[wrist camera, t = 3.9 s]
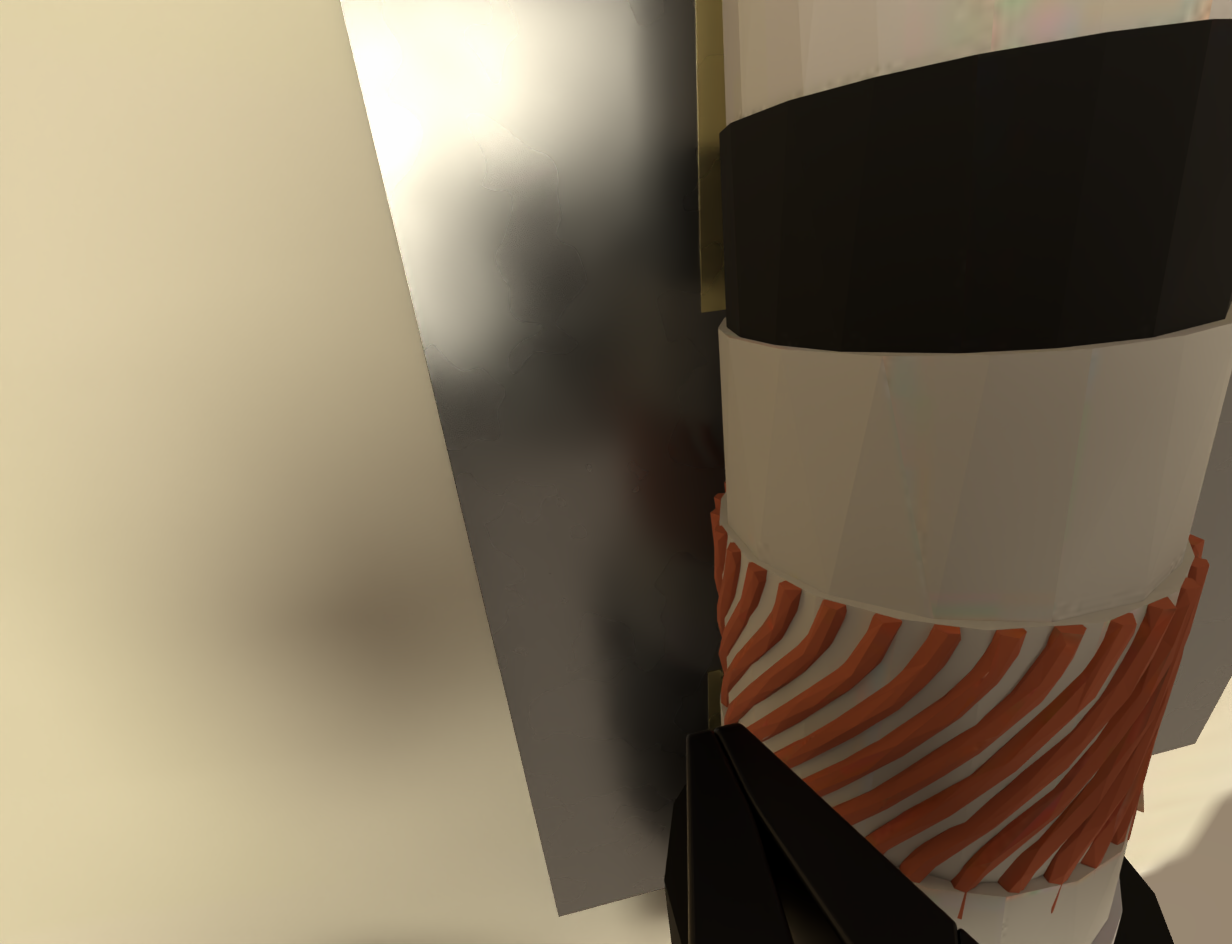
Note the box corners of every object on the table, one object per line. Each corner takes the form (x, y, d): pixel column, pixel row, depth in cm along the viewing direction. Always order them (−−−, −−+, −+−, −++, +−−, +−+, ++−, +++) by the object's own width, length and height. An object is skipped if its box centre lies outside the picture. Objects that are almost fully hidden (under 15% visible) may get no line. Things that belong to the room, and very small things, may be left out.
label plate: (1192, 741, 24) (1196, 744, 24) (558, 913, 21) (559, 918, 21) (1817, -421, 10) (1834, -429, 10) (218, -513, 7) (213, -528, 7)
